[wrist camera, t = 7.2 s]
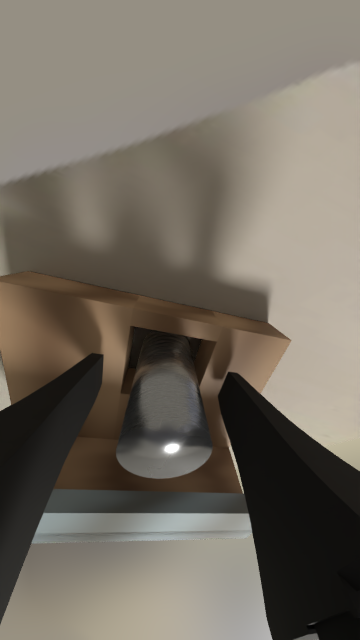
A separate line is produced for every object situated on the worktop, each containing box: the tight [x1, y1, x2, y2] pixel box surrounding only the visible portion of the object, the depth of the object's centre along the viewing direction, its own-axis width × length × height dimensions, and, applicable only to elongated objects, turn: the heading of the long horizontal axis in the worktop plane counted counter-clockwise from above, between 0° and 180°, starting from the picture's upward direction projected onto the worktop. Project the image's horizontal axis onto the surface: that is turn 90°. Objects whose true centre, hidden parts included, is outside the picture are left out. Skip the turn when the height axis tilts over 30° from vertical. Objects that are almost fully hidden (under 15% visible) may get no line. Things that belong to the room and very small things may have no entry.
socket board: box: [0, 271, 291, 543], centre depth 10 cm, size 16×12×7 cm
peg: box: [116, 330, 213, 479], centre depth 9 cm, size 4×4×7 cm
